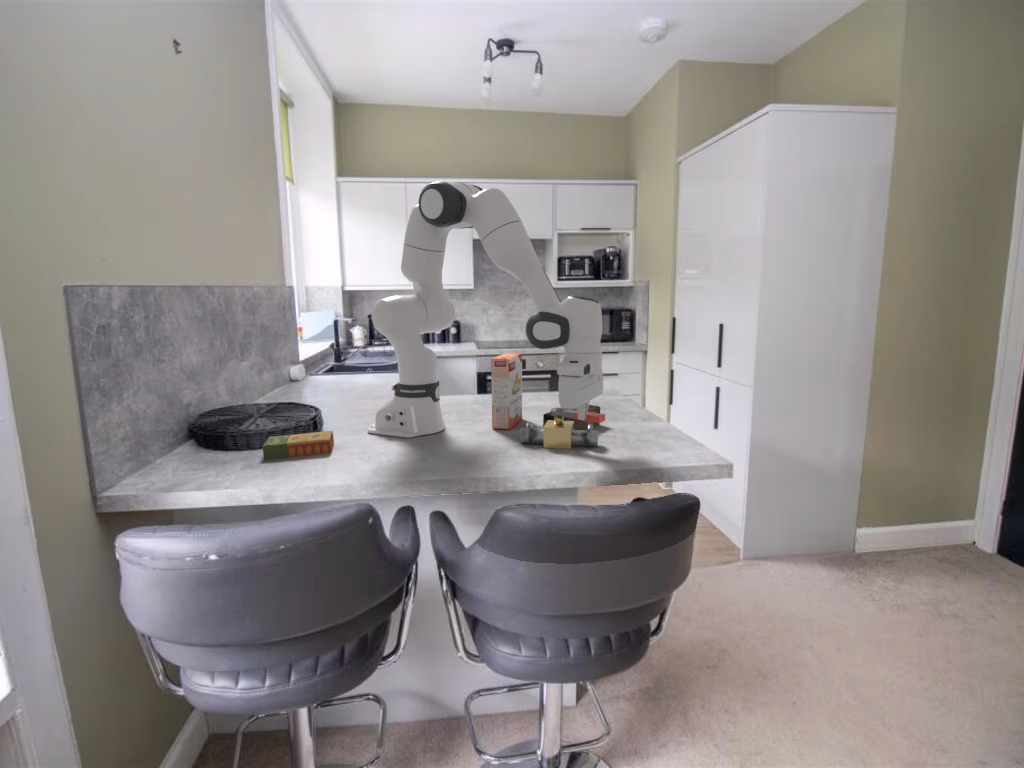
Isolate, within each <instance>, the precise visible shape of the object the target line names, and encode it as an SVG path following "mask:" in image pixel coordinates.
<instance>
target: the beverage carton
mask: <svg viewBox="0 0 1024 768" xmlns="http://www.w3.org/2000/svg"><path fill="white" fill-rule="evenodd" d="M569 410H576V411H577V409H576V408H575V409H569ZM587 412H594V413H600V414H601V406H599V405H595V404H589V408H588V411H587ZM542 417H543V420H542V422H543V423H542V427H544V425H545V424H546V422H547V421H548V420H554V416H552V415H551V411H549V412H545V413H544V414H543V416H542ZM564 421H574V430H587V428H588V424H591V425H593V428H594V426H595V427H597V426H599V425H600V424H601V423H595V422H589V421H583V420H576V419H574V418H568V417H564ZM596 425H597V426H596Z"/></svg>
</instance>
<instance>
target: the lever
mask: <svg viewBox="0 0 1024 768" xmlns="http://www.w3.org/2000/svg"><path fill="white" fill-rule="evenodd" d="M550 410H551V411H550V412H551V415H552V416H557V417H568V418H574V419H576V420H579V419H578V412H577V411H576V410H569V409H566V408H562V407H553V408H551V409H550ZM583 421H589V422H595V423H600V424H601V423H603V422H605V421H606V414H605V413H601V412H600V413H594V412H587V418H586V419H585V420H583Z"/></svg>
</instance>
